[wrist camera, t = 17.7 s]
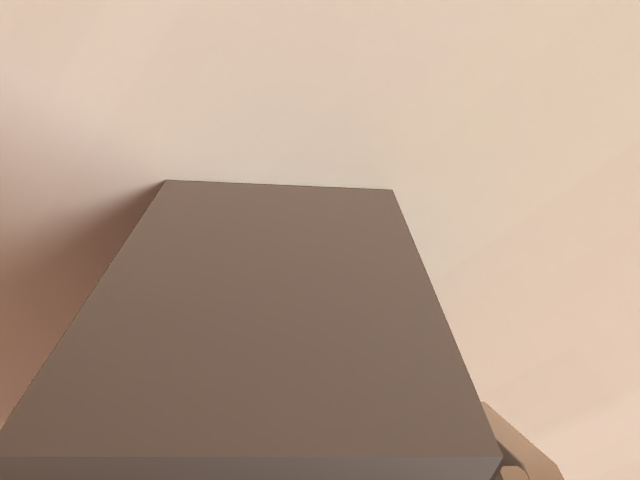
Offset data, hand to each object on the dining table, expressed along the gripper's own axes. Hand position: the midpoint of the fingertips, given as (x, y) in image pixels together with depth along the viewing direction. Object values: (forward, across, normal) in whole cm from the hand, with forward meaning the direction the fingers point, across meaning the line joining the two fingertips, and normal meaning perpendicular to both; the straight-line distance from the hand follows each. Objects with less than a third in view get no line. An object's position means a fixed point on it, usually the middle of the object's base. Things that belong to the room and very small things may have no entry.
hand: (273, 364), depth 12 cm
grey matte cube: (+4, 0, 0) cm, 4 cm away
